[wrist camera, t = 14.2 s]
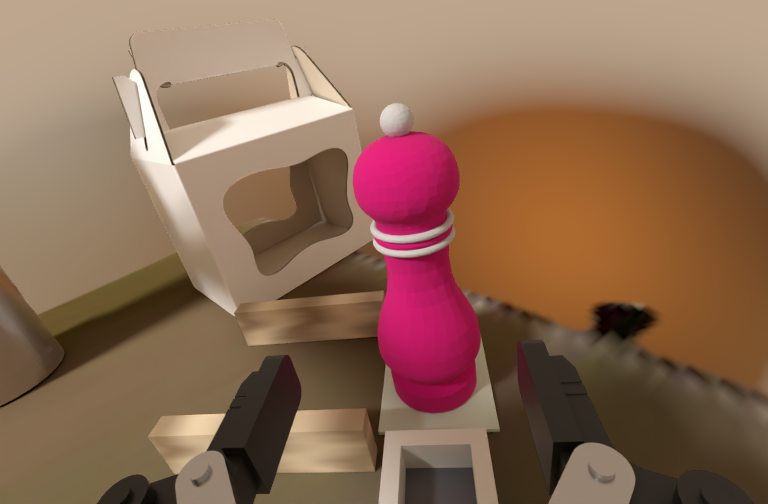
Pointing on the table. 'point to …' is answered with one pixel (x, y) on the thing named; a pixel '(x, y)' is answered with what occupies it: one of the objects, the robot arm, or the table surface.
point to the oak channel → (311, 427)
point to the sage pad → (468, 415)
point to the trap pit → (437, 467)
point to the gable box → (245, 161)
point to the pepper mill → (418, 264)
